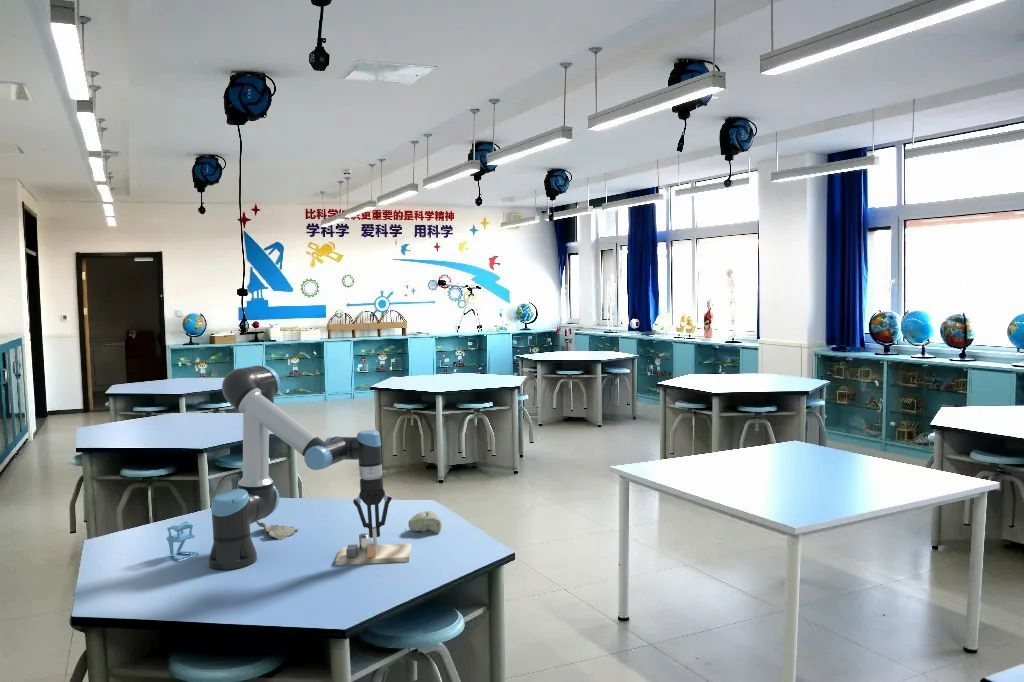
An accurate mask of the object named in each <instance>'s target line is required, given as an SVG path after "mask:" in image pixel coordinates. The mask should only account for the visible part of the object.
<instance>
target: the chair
mask: <svg viewBox="0 0 1024 682" xmlns="http://www.w3.org/2000/svg"><path fill="white" fill-rule="evenodd" d="M193 527H194V524H192V523H191V522H189V521H184V522H182V523H180V524H179V525H176V524H173V525H171V526H168V527H166V529H167V532H168V536H167V537H165V538H166V541H167V543H168V547H169V553H170V554H169V556H170V555H172V556H173V557H175V558H176V559H177V560H181V559H184V558H187V557H190V556H193V555H196V554H198V555H199V552H198V551H190V550H188V551H187V550H186V551H185V550H182V548H183V546H184V544H185V542H186V541H187V540H190V539H194V538H196V537H195V536H196V535H195V534H193V533H192V530H193ZM187 529H189V532H188V533H186V532H184V530H187ZM171 530H173V531H175V532H176V533H177V534H174V535H172V534H173V533H172V532H171ZM174 543H179V545H178V548H177V550H176V553H175V552H174ZM177 553H189V554H190V555H185V556H182V557H179V556H178V554H177ZM191 553H192V554H191ZM173 557H172V558H173ZM177 560H176V561H177Z"/></svg>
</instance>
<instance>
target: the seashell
mask: <svg viewBox="0 0 1024 682" xmlns="http://www.w3.org/2000/svg"><path fill="white" fill-rule="evenodd" d="M407 525H408V529H409V530H410V531H411V532H426V531H427V530H429V531H432V532H433V533H435V534H440V533H441V530H442V525H443V524H442V519H441V518H440V516H439V515H438V514H437V513H435V512H434V511H429V510H427V511H423V512H419V513H416V514H414V516H412V517H411V518H410V519H409V520H408V524H407Z"/></svg>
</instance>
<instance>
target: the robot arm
mask: <svg viewBox="0 0 1024 682" xmlns="http://www.w3.org/2000/svg"><path fill="white" fill-rule="evenodd" d="M222 380H223V381H222V384H221V390H222V394H223V397H224V399H225V400H226V401H227V402H228V404H230V405H231V406H232V407H233V408H234V409H235V410H237V411H238V412H240V413H241V414H242V478H241V479H240V480H239V481H238V483H237V484H238V485H237V486H238V487H237V488H233V489H228V490H224V491H222V492H220V493H217V494H215V496H214V497H213V498H212V500H211V510H210V511H211V520H212V521H211V522H212V537H213V540H212V541H213V542H212V547H211V550H210V552H209V553H210V554H209V557H208V566H210V567H211V569H214V570H217V569H218V570H219V571H221V570H222V571H228V570H230V571H231V570H234V569H235V570H236V569H240V568H246V567H248V566H250V565H253V564H254V563H256V562H257V560H258V553H257V551H256V547H255V545H254V543H253V541H252V538H251V524H254V523H256V521H260V520H262V519H266V518H267V517H268V516H270V515H271V514H272V513H273V512H274V513H275V511H276V510H277V507H278V506H279V503H280V493H279V491H278V489H277V487H276V486H275V485H274V480H273V479H272V478H271V477H270V476H269V472H270V471H269V469H270V468H269V467H270V465H269V464H270V463H269V462H270V461H269V460H270V459H269V458H270V454H269V453H270V450H269V449H270V432H271V433H272V434H274V435H275V436H276V437H277V438H279V439H280V440H281V441H283V442H285V443H286V444H287V445H288V446H290V447H291V448H293V450H294V451H296V453H299V454H300V455H301V456H302V457H303V458H304V463H305V465H306V466H307V468H309V469H310V470H313V471H320V470H324V469H326V468H329V467H330V466H332V465H335V464H338V463H339V462H342V461H344V460H347V461H348V460H351V461H353V460H354V461H356V460H358V472H359V474H358V475H359V478H360V479H359V489H360V492H359V494H358V496H357V497H356V498H354V499H353V500H352V502H353V504H354V506H355V507H356V509H357V512H358V515H359V517H360V521H361V524H362V527H363V528H365V529H368V535H369V538H370V539H372V542H373V543H374V544H375V546H376V548H377V545H378V538H380V537H381V531H380V529H381V527H382V526H385V524H386V521H387V515H388V510H389V504H390V502H391V501H392V495H390V494H386V492H385V490H384V479H383V477H382V476H383V464H382V447H381V445H382V442H381V435H380V432H379V431H378V430H374V429H369V430H368V429H367V430H360V431H358V432H357V434H356V436H355V437H354V436H329V437H327V438H326V439H325V440H323V439H321V438H320V437H318V436H317V435H316V434H314V433H313V432H311V431H310V430H309V429H308V428H307V427H306V426H304V425H303V424H302V423H300V422H299V421H297V420H296V419H294V417H292V416H290V415H289V414H288V413H286V411H284V410H283V409H281V408H280V407H279V406H278V405H276V404H275V396H276V395H277V394H278V392H279V391H280V387H281V380H280V377H279V375H278V373H277V372H276V371H275V369H273V368H271V367H270V366H268V365H253V366H252V365H251V366H248V367H242V368H236V369H233V370H230V371H229V372H228V373H227V374H226V375H225V377H224V379H222ZM382 500H384V503H383V510H382V514H381V520H380V509H379V508H380V507H379V506H380V505H379V504H380V503H381V502H382ZM361 501H362V502H363V503H364V505H366V508H367V521H366V517H365V514H364V512H363V508H362V505H361V504H362V502H361ZM372 506H374V518H375V521H374V522H375V526H373V520H372V519H373V517H372ZM210 567H209V568H210Z"/></svg>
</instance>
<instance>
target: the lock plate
mask: <svg viewBox="0 0 1024 682" xmlns="http://www.w3.org/2000/svg"><path fill="white" fill-rule="evenodd" d="M357 546H358V554H357V556H356V558H350V559H347V556H346V549H347V547H348V546H341V547H340V550H339V551H338V554H337V555H336V558H335V560H334V563H335V564H334V565H335V566H345V565H346V566H347V565H365V564H367V565H368V564H383V563H385V564H388V563H405V562H406V563H407V562H410V558H411V553H412V543H396V544H395V543H394V544H393V543H391V544H377V548H376V557H374V558H367V556H366V555H365V553H364V552H363V551H362V549H360V547H359V545H357Z"/></svg>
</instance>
